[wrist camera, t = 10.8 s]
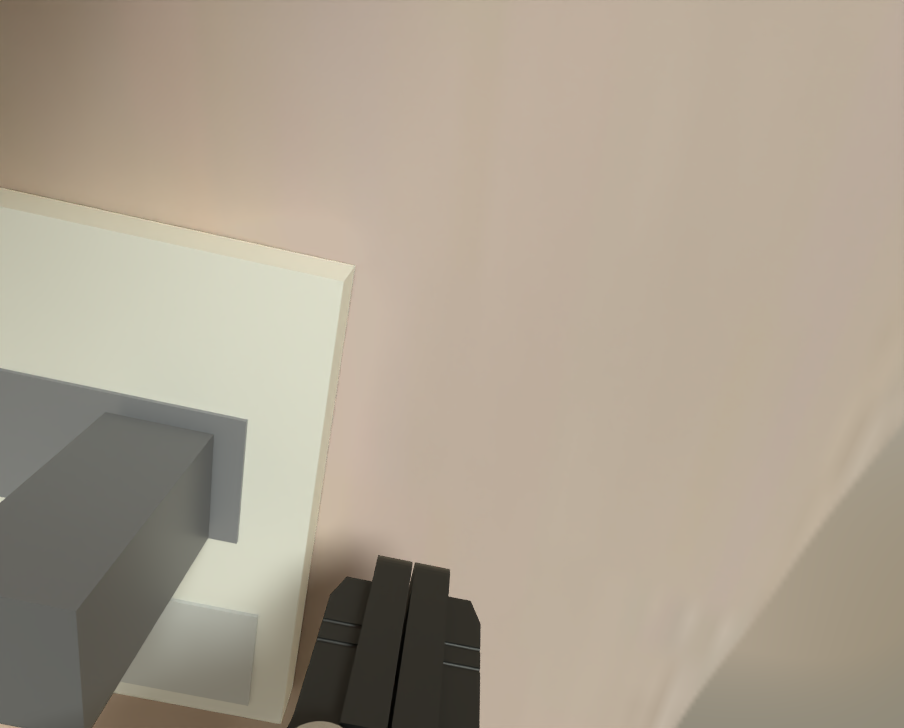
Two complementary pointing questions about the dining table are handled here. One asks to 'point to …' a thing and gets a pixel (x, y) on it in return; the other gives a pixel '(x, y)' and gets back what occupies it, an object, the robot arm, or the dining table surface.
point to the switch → (95, 563)
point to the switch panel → (184, 415)
